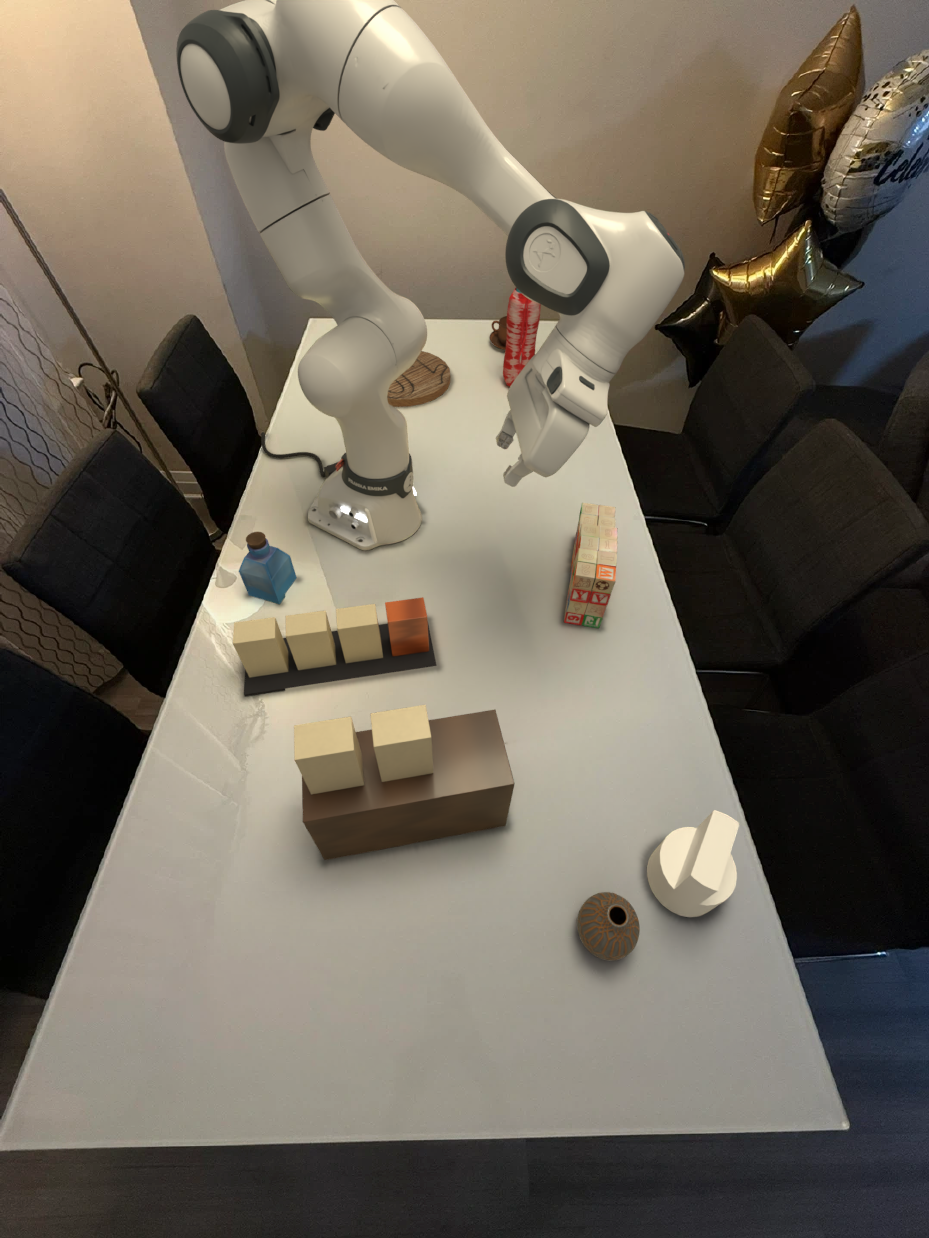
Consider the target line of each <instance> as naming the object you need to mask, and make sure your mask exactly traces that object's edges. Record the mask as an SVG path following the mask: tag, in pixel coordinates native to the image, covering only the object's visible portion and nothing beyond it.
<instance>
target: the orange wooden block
mask: <svg viewBox="0 0 929 1238" xmlns="http://www.w3.org/2000/svg"><path fill="white" fill-rule="evenodd" d="M384 606H385V614H386V620H387V624H388V628H389V635H390V643H391V650H392V656H400V655H407V654H413V653H420V652H427V651H429V640H428V625H429V620H428V615H427V614H428V612H427V608H426V603H425V598H424V597H423V596H422V597H415V598H407V599H401V600H393V601H385V602H384Z"/></svg>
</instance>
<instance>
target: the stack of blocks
mask: <svg viewBox="0 0 929 1238" xmlns="http://www.w3.org/2000/svg"><path fill="white" fill-rule="evenodd" d="M616 510H617V509H616V507H615V506H610V505H603V504H594V503H588V502H582V503H581V506H580V510H579V515H578V516H579V517H578V522H577V526H576V532H575V535H574V536H575V537H574V543H573V544H574V545H573V549H572V557H571V564H570V574H569V583H568V591H567V596H566V604H565V610H564V618H563V623H565V624H570V625H576V626H583V627H590V628H595V629H600V627H601V624H602V622H603V620H604V614H605V613H606V610H607V606H608V604H609V602H610V600H611V596H612V592H613V590H614V587H615V584H616V580H617V564H618V544H619V543H618V527H616V520H617V519H616Z"/></svg>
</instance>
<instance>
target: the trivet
mask: <svg viewBox="0 0 929 1238" xmlns="http://www.w3.org/2000/svg"><path fill="white" fill-rule="evenodd" d="M450 384H451V369H450V367H449V365H448V363H447V362H446V361H444V360H443V359H442V358H441V357H439V356H437V355H435V354H433V353H431V352H428V351H423V350H422V351H421V353H420V355H419V356H418V358H417V359H416V361H415V362H414V364H413V365H412V366H411V367H410V368H409V369H407V370H406V371H405V372H404V373H403V374H402V375H400V376H399V377H398V378H397V379H396V380H395V381H393V382H392V384H391V385H390V387H389V390H388V394H387V400H388V404H390V405H392V406H393V407H395V408H397V407H398V408H402V407H404V408H405V407H414V406H419V405H423V404H427V403H429V402H432V401H435V400H436V399H437V398H440V397H441V396H443V395H444V394H445V393H446V391H447V390H448V389H449V387H450Z"/></svg>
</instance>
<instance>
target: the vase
mask: <svg viewBox="0 0 929 1238" xmlns="http://www.w3.org/2000/svg"><path fill="white" fill-rule="evenodd" d="M576 926H577V932H578V936H579V938H580V941H581V944H582V945H583V946H584V947H585V948H586V950H587V951H588V952H589V953H590V954H592V955H593V956H594V957H596V958H598V959H601V960H604V961H611V962H613V961H618V960H621V959H624V958H625V957H627V956H628V955H630V953H632V951H634V949H635V948H636V946H637V944H638V941H639V939H640V931H641V928H640V921H639V917H638V914H637V911H636V910H635V908H634V907H633V906H632V904H631V903H630V902H629V901H628V900H627V899H626V898H624V897H623V896H621V895H620V894H617V893H615V892H609V891H602V892H598V893H595V894H592V895H591V896H589V897H588V898H587V899H586V900H585V901H584V902H583V904H581V906H580V909H579V911H578V914H577V919H576Z"/></svg>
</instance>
